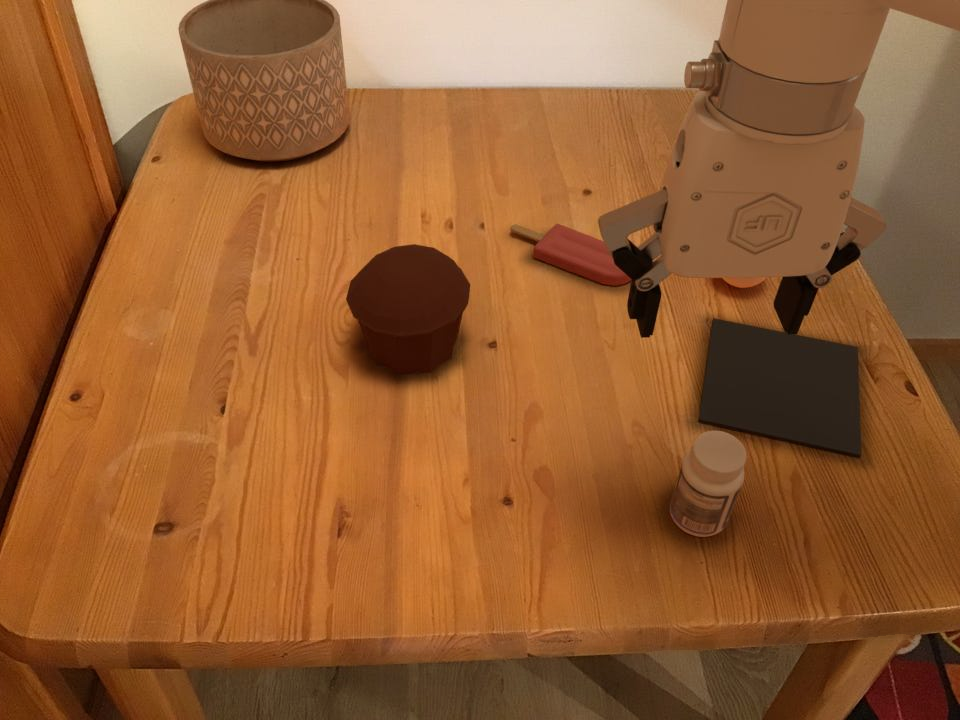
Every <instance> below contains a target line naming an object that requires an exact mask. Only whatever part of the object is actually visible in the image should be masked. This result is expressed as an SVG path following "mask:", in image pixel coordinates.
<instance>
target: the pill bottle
mask: <svg viewBox="0 0 960 720" xmlns="http://www.w3.org/2000/svg"><path fill="white" fill-rule="evenodd" d="M746 462H747V450H746V448H745V446H744V445H743V443H742V441H740V439H738V438H737V437H736V436H734V435H733V434H731V433H729V432H726V431H722V430H708V431H705V432H701V433H700V434H699V435H698V436H697V437H696V438H695V439H694V441H693V443H692V446H691V449H690V450H689V451H688V452H687V453H686V454H685V455H684V457H683V460H682V461H681V466H680V469H679V473H678V476H677V480H676V484H675V485H674V490H673V493H672V496H671V500H670V503H669V513H670V516H671V519H672V521H673V522H674V523H675V525H676V526H677V527H678V528H679V529H680V530H682V531H683V532H684V533H687V534H689V535H691V536H695V537H699V538H708V537H712V536H716V535H718V534H719V533H720V532H722V531H723V530H724V529H725V527H726V526H727V524H728V523H729V520H730V517H731V514H732V512H733V509H734V506H735V504H736V502H737V499H738V496H739V494H740V491H741V489H742V486H743V484H744V482H745V469H744V467H745V464H746Z"/></svg>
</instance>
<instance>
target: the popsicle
mask: <svg viewBox="0 0 960 720" xmlns="http://www.w3.org/2000/svg"><path fill="white" fill-rule="evenodd" d="M509 230H510V231H511V232H512V233H514V234H517V235H519V236H521V237H524V238H527V239H530V240H532V241H535V242H537V243H536V244H535V245H534V247H533V251H532V257H533V258H534V259H537V260H538V261H542V262H544V263H546V264H549V265H552V266H554V267H557V268H559V269H562V270H564V271H567V272H569V273H572V274H575V275H578V276H580V277H582V278H586V279H588V280H591V281H594V282H595V283H596V282H597V283H599V284H602V285H605V286H606V285H607V286H613V287H616V286H622V285H625V284H627V283H629V282H631V280H632V279H631V278H630V277H628V276H627V275H626V274H625V273H624V272H623V271H622V270H621V269H619V268H618V267H617V266H616V265H615V264H614V260H613V258H612V256H611V254H610V252H609V250H608V248H607V246H606V244H605V242H604V240H601V239H599V238H596V237H593V236H591V235H588V234H586V233H584V232H581V231H578V230H576V229H573V228H571V227H568V226H565V225H562V224H560V223H555V224H554V225H553V226H552V227H551V228H550V229H549V231H547V233H546V234H542V233H540V232H538V231H534V230H532V229H529V228H527V227H524V226H521V225H519V224H512V225H511V226H510V228H509Z"/></svg>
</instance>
